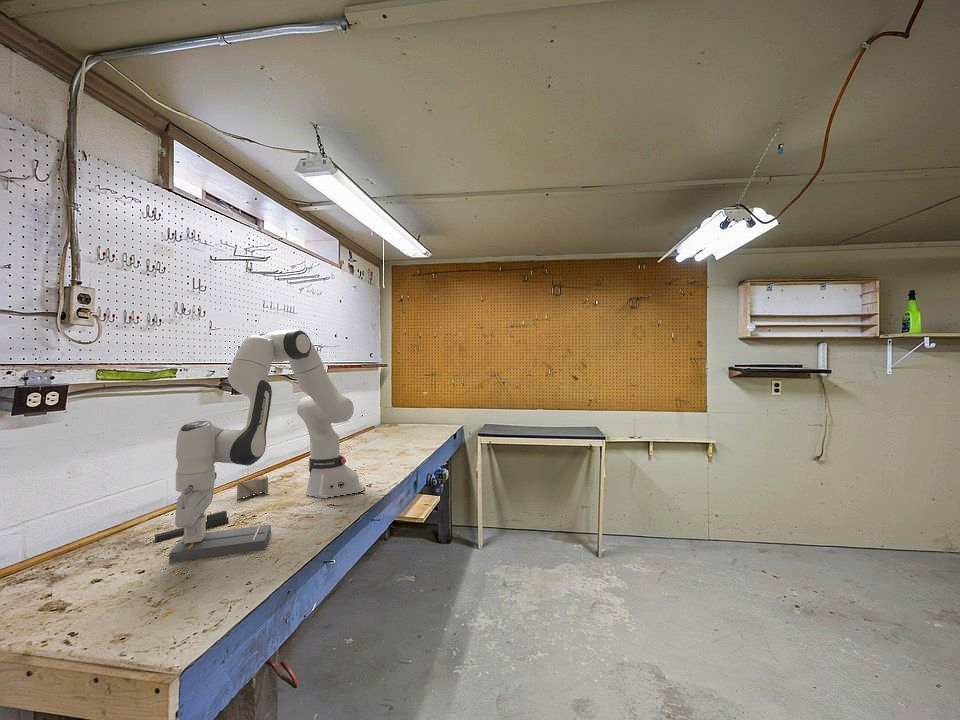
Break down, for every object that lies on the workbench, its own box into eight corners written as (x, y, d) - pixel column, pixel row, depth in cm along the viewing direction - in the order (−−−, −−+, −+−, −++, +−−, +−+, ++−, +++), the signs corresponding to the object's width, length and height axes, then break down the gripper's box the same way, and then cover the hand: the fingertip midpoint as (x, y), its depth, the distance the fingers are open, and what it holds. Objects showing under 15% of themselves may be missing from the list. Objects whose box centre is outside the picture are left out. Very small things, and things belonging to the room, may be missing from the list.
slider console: (270, 532, 124) (270, 524, 124) (264, 549, 113) (264, 539, 113) (184, 543, 117) (184, 534, 117) (169, 562, 105) (169, 552, 105)
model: (268, 494, 163) (268, 475, 164) (242, 502, 154) (242, 481, 154) (262, 493, 165) (262, 474, 165) (237, 501, 155) (237, 480, 155)
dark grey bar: (157, 544, 117) (157, 529, 117) (154, 542, 119) (154, 527, 119) (229, 524, 132) (229, 511, 132) (226, 522, 134) (226, 509, 134)
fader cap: (205, 535, 115) (205, 513, 115) (201, 541, 111) (201, 518, 111) (188, 537, 114) (188, 515, 114) (183, 543, 110) (183, 520, 110)
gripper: (197, 490, 104) (197, 545, 104) (218, 471, 123) (217, 517, 123) (167, 493, 102) (167, 549, 102) (193, 473, 121) (192, 520, 121)
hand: (195, 531), depth 112 cm, fingers closed on fader cap, 4 cm apart
